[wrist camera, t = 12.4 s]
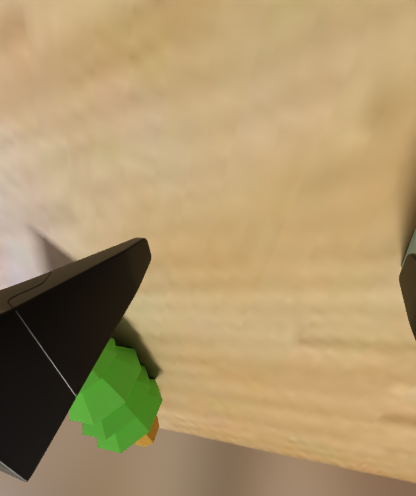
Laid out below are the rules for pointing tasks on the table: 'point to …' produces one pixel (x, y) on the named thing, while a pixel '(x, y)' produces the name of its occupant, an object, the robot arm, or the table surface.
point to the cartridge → (411, 246)
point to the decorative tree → (118, 401)
